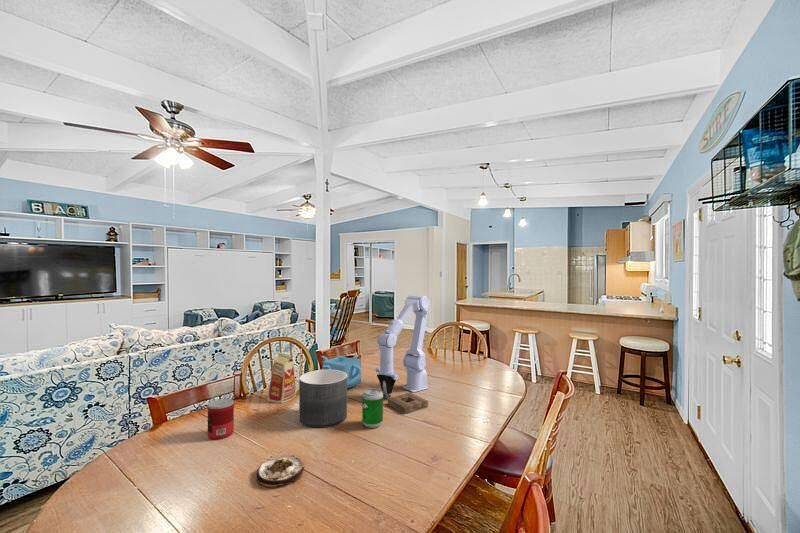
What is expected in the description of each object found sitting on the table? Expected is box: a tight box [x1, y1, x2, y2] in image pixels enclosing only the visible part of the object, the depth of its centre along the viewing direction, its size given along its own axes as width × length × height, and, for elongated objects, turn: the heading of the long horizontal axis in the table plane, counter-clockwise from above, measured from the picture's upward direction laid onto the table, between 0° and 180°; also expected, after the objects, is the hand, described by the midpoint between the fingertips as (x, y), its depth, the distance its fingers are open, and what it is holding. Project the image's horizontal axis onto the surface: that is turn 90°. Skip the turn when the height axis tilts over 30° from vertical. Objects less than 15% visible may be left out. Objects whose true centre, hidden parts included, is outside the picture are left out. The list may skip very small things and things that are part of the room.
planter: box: [298, 369, 348, 429], centre depth 134 cm, size 18×18×16 cm
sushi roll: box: [256, 454, 306, 489], centre depth 97 cm, size 15×15×4 cm
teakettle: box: [320, 354, 362, 390], centre depth 168 cm, size 19×19×15 cm
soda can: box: [361, 388, 384, 429], centre depth 128 cm, size 8×8×12 cm
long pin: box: [382, 380, 392, 399], centre depth 153 cm, size 3×3×7 cm
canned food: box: [207, 398, 235, 441], centre depth 120 cm, size 8×8×11 cm
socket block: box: [387, 392, 429, 415], centre depth 146 cm, size 12×12×2 cm
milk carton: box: [266, 351, 297, 404], centre depth 153 cm, size 9×9×20 cm
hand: (386, 392), depth 153 cm, fingers closed on long pin, 3 cm apart
